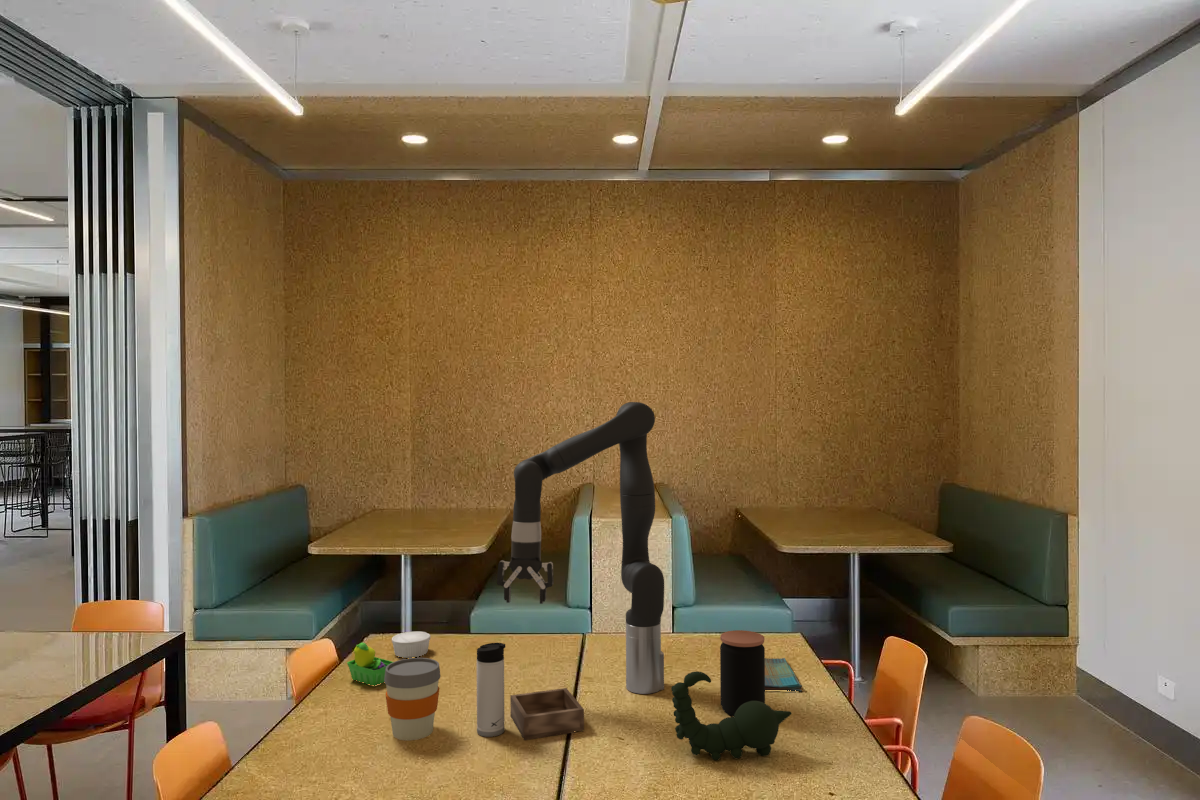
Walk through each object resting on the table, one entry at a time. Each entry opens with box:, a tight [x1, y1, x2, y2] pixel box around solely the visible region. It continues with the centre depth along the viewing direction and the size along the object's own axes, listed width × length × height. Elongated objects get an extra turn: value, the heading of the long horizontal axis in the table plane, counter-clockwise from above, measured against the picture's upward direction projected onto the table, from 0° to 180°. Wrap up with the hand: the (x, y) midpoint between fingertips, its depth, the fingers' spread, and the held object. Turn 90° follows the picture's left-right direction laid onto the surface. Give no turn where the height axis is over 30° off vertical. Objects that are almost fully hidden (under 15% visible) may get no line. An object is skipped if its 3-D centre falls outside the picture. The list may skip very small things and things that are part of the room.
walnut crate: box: [509, 687, 585, 741], centre depth 181 cm, size 14×14×5 cm
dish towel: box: [765, 657, 803, 692], centre depth 211 cm, size 17×23×3 cm
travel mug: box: [476, 642, 506, 738], centre depth 177 cm, size 6×7×20 cm
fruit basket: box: [346, 642, 394, 686], centre depth 209 cm, size 11×9×11 cm
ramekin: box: [391, 631, 431, 659], centre depth 232 cm, size 11×11×5 cm
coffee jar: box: [719, 629, 766, 717], centre depth 188 cm, size 11×11×18 cm
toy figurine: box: [670, 670, 792, 761], centre depth 164 cm, size 9×19×25 cm
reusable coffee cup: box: [384, 657, 442, 741], centre depth 177 cm, size 13×13×15 cm
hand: (524, 602), depth 197 cm, fingers open, 8 cm apart
